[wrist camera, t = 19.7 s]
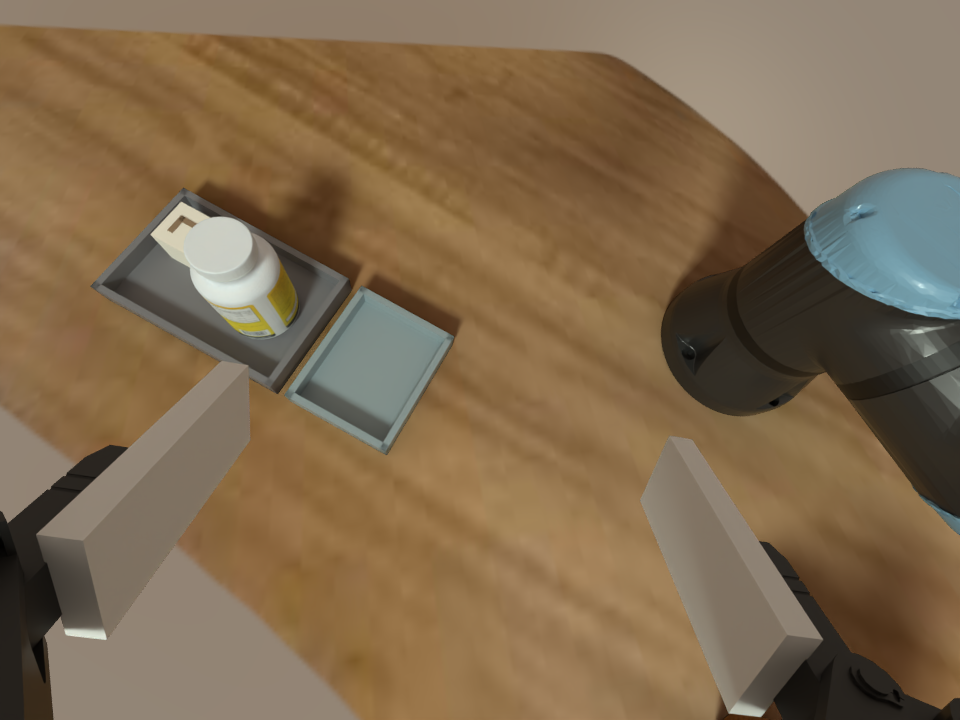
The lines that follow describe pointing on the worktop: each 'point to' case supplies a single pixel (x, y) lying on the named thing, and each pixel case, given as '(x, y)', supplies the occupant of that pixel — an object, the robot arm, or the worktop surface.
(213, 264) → the pill bottle
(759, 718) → the disposable coffee cup
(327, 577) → the worktop surface
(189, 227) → the letter cube
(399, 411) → the slate tray
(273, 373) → the charcoal tray
